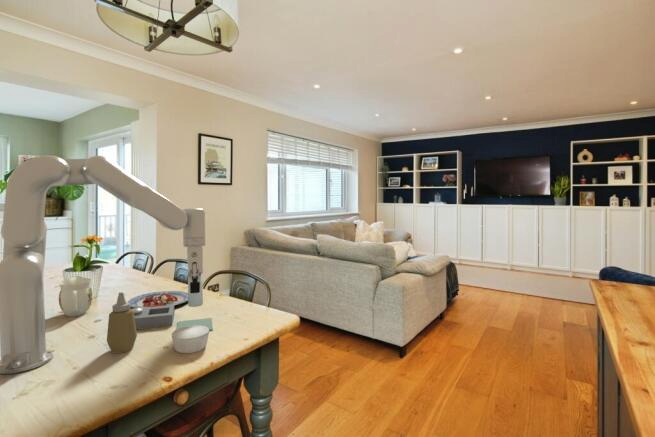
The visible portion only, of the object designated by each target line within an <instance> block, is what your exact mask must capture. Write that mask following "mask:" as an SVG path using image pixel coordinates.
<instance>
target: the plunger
mask: <svg viewBox="0 0 655 437" xmlns="http://www.w3.org/2000/svg"><path fill="white" fill-rule="evenodd" d="M131 309H132V310H133V311H134V315H135V314H140V313H141V312H143V308H134V307H133V308H131Z"/></svg>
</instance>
